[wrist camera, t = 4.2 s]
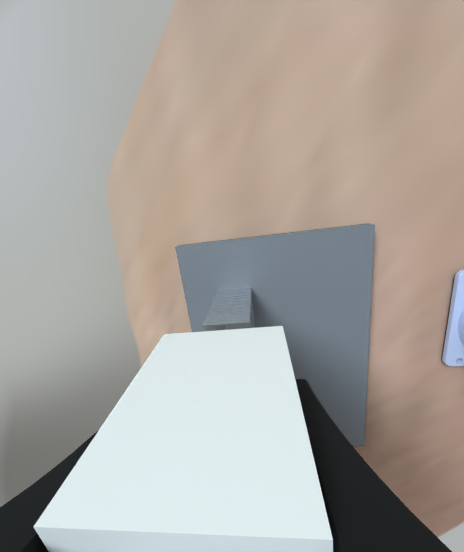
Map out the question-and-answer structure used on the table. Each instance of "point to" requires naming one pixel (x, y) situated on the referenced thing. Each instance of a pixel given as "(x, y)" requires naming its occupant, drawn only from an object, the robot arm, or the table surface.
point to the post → (230, 310)
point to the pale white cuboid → (198, 457)
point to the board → (300, 304)
